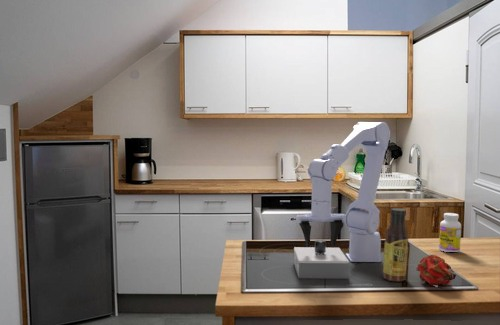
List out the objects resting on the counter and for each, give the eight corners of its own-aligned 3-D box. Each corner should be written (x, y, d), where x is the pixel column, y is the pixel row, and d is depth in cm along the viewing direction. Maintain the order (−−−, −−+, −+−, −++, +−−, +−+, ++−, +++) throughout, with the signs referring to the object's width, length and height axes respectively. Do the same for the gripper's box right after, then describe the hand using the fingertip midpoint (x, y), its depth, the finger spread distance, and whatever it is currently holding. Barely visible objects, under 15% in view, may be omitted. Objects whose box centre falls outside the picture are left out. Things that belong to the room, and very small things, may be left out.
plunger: (334, 262, 144) (335, 236, 143) (342, 273, 133) (342, 246, 132) (299, 261, 144) (299, 236, 143) (303, 273, 133) (304, 246, 132)
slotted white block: (338, 263, 146) (339, 247, 145) (348, 278, 132) (348, 261, 131) (293, 262, 145) (294, 247, 145) (298, 278, 132) (299, 260, 131)
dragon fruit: (422, 281, 135) (448, 302, 123) (403, 266, 132) (428, 287, 121) (441, 258, 134) (469, 277, 123) (422, 243, 132) (449, 261, 120)
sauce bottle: (394, 284, 127) (396, 212, 126) (377, 277, 133) (380, 208, 131) (411, 280, 130) (414, 210, 129) (395, 274, 136) (397, 206, 134)
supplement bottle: (434, 250, 162) (436, 213, 160) (445, 247, 165) (447, 211, 164) (453, 254, 156) (455, 217, 155) (463, 251, 160) (465, 214, 159)
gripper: (340, 197, 142) (339, 241, 143) (293, 198, 139) (293, 243, 141) (348, 201, 135) (347, 247, 136) (300, 202, 132) (299, 249, 134)
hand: (320, 245), depth 138 cm, fingers open, 7 cm apart
